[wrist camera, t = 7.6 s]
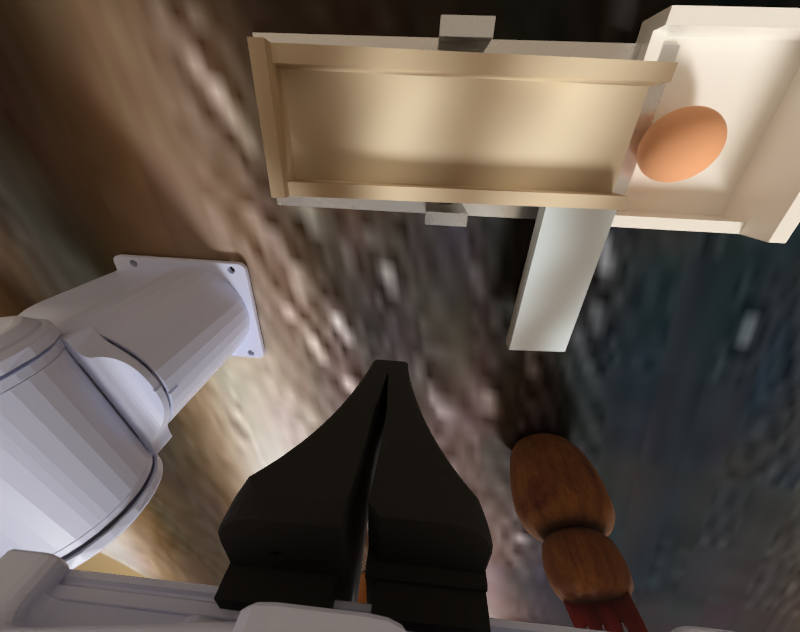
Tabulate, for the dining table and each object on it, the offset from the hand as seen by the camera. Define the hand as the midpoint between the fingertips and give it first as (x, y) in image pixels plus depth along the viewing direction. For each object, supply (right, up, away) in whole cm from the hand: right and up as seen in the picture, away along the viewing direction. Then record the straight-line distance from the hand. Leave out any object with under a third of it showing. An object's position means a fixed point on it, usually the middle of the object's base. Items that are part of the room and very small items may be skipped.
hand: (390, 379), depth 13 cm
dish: (+15, +12, +3) cm, 20 cm away
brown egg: (+14, +11, +2) cm, 18 cm away
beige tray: (+3, +7, +4) cm, 9 cm away
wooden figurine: (+13, -9, +16) cm, 22 cm away
